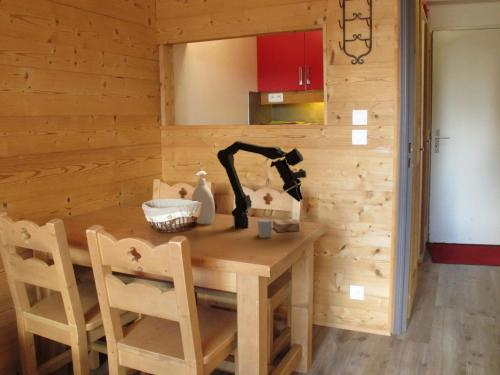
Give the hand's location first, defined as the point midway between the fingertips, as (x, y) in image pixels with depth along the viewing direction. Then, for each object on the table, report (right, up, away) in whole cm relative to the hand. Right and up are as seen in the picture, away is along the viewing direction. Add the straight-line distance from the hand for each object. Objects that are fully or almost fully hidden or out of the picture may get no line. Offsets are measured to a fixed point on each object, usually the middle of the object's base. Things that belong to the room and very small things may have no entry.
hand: (300, 200), depth 232 cm
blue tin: (-17, -16, -6) cm, 24 cm away
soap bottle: (-48, -13, +22) cm, 54 cm away
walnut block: (-6, -14, +6) cm, 17 cm away
